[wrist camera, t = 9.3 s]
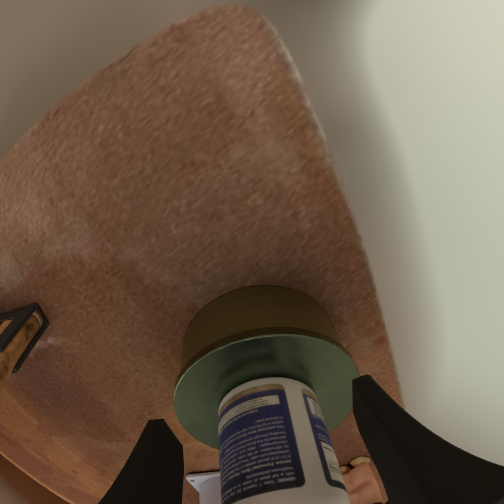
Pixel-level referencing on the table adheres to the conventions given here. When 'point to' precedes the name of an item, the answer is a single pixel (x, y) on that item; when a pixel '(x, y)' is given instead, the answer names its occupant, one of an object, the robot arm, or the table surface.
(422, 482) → the robot arm
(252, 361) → the tin
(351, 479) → the grandmother figurine
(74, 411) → the table surface
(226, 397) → the pill bottle
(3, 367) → the rifle cartridge clip
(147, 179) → the table surface
